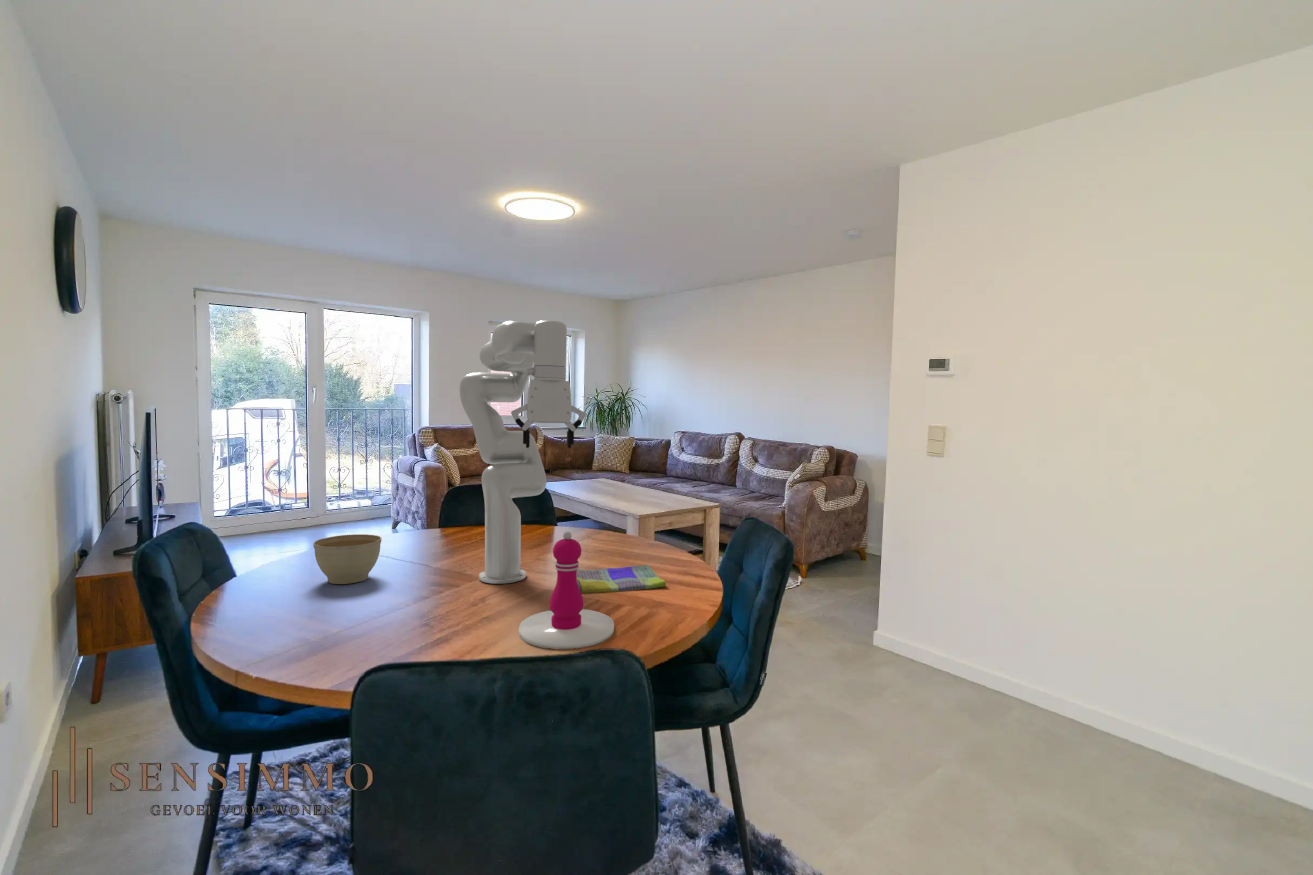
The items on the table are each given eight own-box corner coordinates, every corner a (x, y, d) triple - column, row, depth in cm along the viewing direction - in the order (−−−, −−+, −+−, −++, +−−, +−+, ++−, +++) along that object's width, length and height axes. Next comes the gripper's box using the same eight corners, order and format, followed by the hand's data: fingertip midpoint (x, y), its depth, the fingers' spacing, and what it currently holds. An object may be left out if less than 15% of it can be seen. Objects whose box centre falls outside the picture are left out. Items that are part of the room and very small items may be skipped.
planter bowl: (394, 578, 161) (394, 538, 160) (335, 593, 147) (334, 550, 147) (360, 568, 170) (359, 530, 169) (301, 581, 156) (301, 541, 155)
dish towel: (667, 590, 156) (667, 580, 156) (574, 595, 150) (574, 585, 150) (653, 572, 173) (653, 563, 173) (569, 576, 167) (569, 566, 167)
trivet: (517, 617, 133) (517, 611, 133) (605, 610, 138) (605, 605, 138) (520, 653, 114) (520, 647, 114) (622, 644, 119) (622, 638, 119)
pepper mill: (554, 632, 121) (555, 536, 120) (545, 621, 128) (546, 529, 126) (588, 627, 124) (589, 533, 123) (577, 616, 131) (578, 527, 130)
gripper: (511, 372, 132) (510, 448, 133) (588, 375, 137) (587, 449, 138) (511, 373, 139) (510, 445, 141) (584, 376, 144) (582, 446, 145)
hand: (548, 447), depth 139 cm, fingers open, 9 cm apart
